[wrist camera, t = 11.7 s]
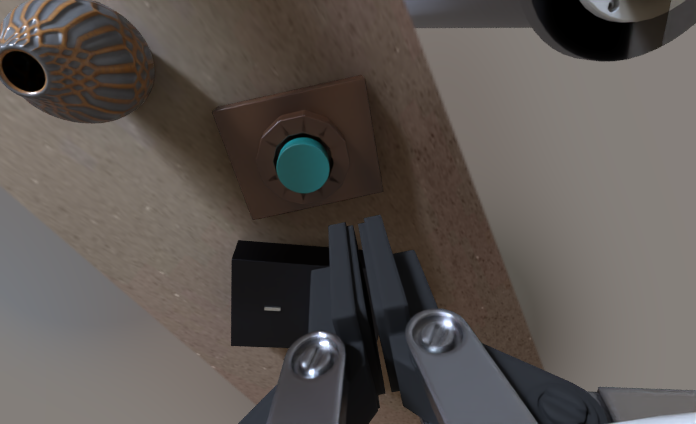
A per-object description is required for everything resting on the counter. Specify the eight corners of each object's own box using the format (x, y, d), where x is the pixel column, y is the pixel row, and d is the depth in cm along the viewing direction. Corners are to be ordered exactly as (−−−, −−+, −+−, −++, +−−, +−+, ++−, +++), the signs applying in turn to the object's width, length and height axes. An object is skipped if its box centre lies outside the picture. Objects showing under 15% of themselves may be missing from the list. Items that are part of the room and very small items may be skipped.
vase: (41, -1, 22) (-104, -17, 14) (154, 0, 23) (74, -15, 15) (79, 110, 25) (-23, 146, 18) (178, 109, 26) (121, 143, 18)
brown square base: (361, 74, 26) (368, 80, 23) (380, 183, 30) (387, 201, 27) (217, 106, 26) (204, 117, 23) (255, 211, 30) (249, 231, 27)
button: (322, 131, 25) (323, 138, 23) (333, 178, 26) (334, 187, 25) (272, 142, 25) (269, 150, 23) (286, 188, 26) (284, 198, 25)
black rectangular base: (402, 243, 33) (411, 262, 31) (378, 336, 39) (383, 360, 36) (238, 229, 31) (231, 249, 28) (236, 330, 36) (230, 355, 34)
